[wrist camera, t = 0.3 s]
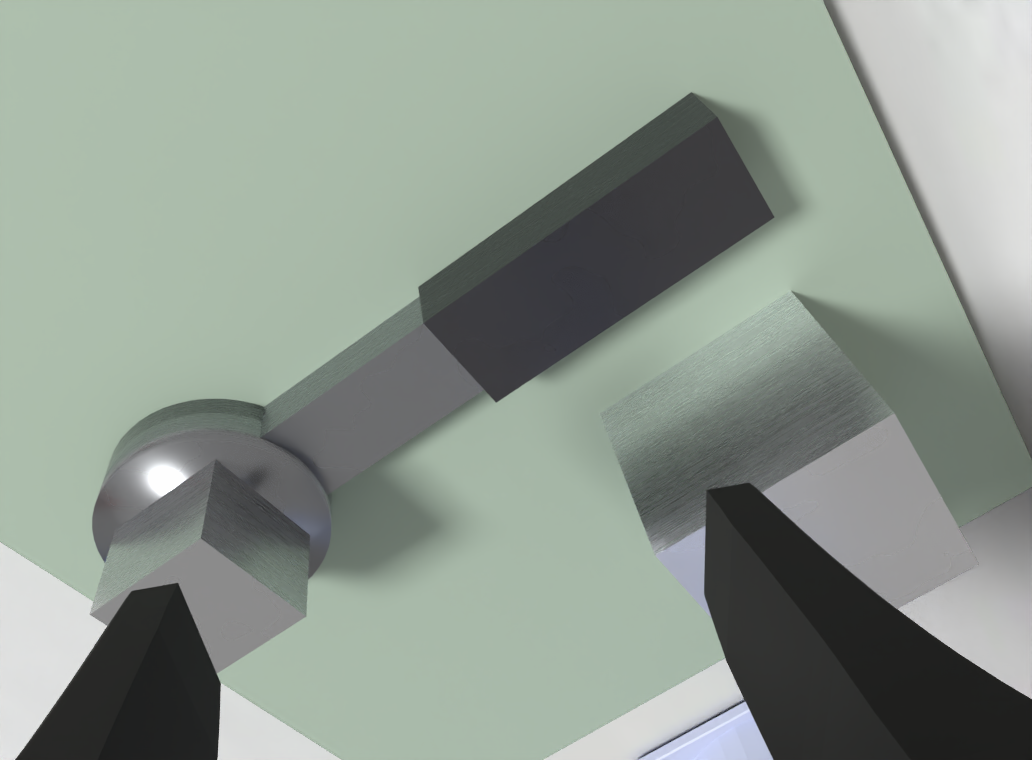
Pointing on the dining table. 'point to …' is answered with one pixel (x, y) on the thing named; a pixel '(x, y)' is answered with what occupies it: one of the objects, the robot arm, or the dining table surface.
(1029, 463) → the mat
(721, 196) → the handled tool
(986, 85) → the dining table surface
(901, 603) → the brushed metal cube
